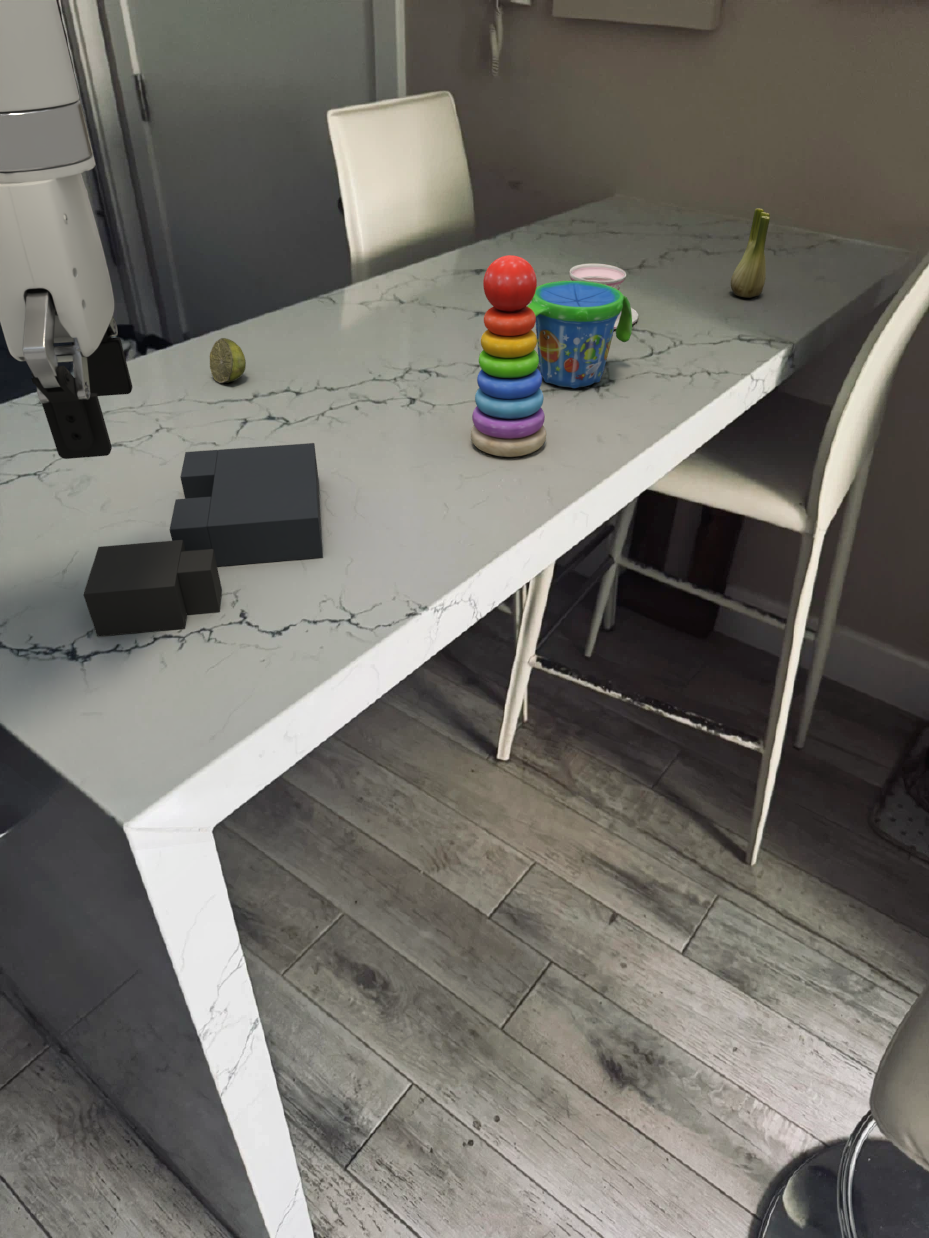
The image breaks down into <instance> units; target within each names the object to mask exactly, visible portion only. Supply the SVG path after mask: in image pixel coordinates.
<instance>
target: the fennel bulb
mask: <svg viewBox="0 0 929 1238" xmlns="http://www.w3.org/2000/svg"><path fill="white" fill-rule="evenodd" d="M770 220H771V214H770V213H768V212H765V210H764V209H763V208H760V207H759V208H755V209H754V213H753V216H752V221H751V227H750V232H749V238H748V241H747V243H746V244H747V245H746V248H745V251H744V253H743V254H742V257H741V259H740V261H739V263H738V264H737V266H736V267H735V269H734V271H733V273H732V276H731V278H730V289H731V291H732V293H733V294H734V295H735V296H737V297H740V298H754V297H758V296H760V295H761V294H762V293H763V290H764V287H765V283H766V279H767V278H766V277H767V276H766V275H767V274H766V272H767V270H766V269H767V267H766V256H765V254H766V253H765V247H766V241H767V234H768V230H769V225H770Z"/></svg>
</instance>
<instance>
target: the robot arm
mask: <svg viewBox="0 0 929 1238" xmlns="http://www.w3.org/2000/svg"><path fill="white" fill-rule="evenodd" d="M66 39H67V38H66V36H65V31H64V27H63V22H62V19H61V14H60V10H59V6H58V2H57V0H0V326H1V329H2V333H3V336H4V340H5V343H6V346H7V349H8V352H9V354H10V355H11V356H12V357H13V358H14V360H17V361H18V362H26V364H27V365H28V367H29V369H30V371H31V374H30V375H31V382H32V384H33V385H35V387H36V393H37V397H38V401H39V402H40V403H41V406H42V408H43V411H44V414H45V418H46V421H47V424H48V427H49V430H50V433H51V436H52V440H53V442H54V445H55V449H56V451H57V454H58V457H60V458H62V459H64V460H68V459H82V458H83V459H84V458H95V457H107V456H109V455H110V454H111V452H112V449H113V447H112V442H111V439H110V436H109V432H108V429H107V425H106V421H105V418H104V414H103V410H102V407H101V403H100V399H99V397H108V396H109V397H110V396H120V395H121V396H122V395H130V394H131V393H132V391H133V383H132V378H131V374H130V370H129V367H128V363H127V359H126V355H125V351H124V347H123V343H122V339H121V336H118V334H119V333H118V332H119V331H118V325H117V321H116V319H115V317H114V313H115V297H114V292H113V286H112V281H111V276H110V271H109V268H108V264H107V259H106V255H105V252H104V248H103V244H102V240H101V236H100V233H99V229H98V226H97V222H96V218H95V215H94V212H93V208H92V204H91V201H90V197H89V192H88V189H87V187H86V184H85V182H84V178H83V175H82V174H83V173H85V172H89V171H91V170H93V169H94V168H95V166H96V160H95V157H94V156H95V155H94V151H93V148H92V143H91V139H90V135H89V130H88V127H87V122H86V117H85V113H84V109H83V105H82V101H81V100H80V93H79V90H78V84H77V81H76V77H75V73H74V68H73V64H72V61H71V56H70V52H69V48H68V43H67V40H66ZM117 336H118V337H117ZM59 343H60V344H61V343H71V344H70V345H55V344H59ZM69 362H72V367H73V374H72V373H71V371H70V370H68V368H67V367H66V366H65V365H59V363H69Z"/></svg>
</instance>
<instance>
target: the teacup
mask: <svg viewBox="0 0 929 1238" xmlns="http://www.w3.org/2000/svg"><path fill="white" fill-rule="evenodd" d="M568 276H569V278H570V281H586V282H595V283H599V284H604V285H608V286H611V287H613V288H615V289H617V290H619V291H620V289H621V287H620V285H622V284H623V283H624V281H625V280H626V278H627V272H626V271H625V270H624V269H622V268H620V267H618V266H614V265H612V264H611V265H610V264H604V263H582V264H576V265H574V266H572V267H571V268H570V269H569V275H568ZM631 312H632V325H634V324H635V323H636V322H638V320H639V313H638V311H637V310H636V309H634V308H633V307H631ZM620 316H621V312H620V314H619V315H618V317H617V319H616V322H615V325H614V330H616V329H617V326H618V323H619V319H620Z"/></svg>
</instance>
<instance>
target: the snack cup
mask: <svg viewBox="0 0 929 1238" xmlns="http://www.w3.org/2000/svg"><path fill="white" fill-rule="evenodd" d="M527 307H529V308H530V309H532V310H533V312H534V313H535V316H536V322H535V334H536V337H537V345H536V346H537V354H538V357H539V364H538V366H539V371H540V373H541V376H542V379H543V381H544V382H545V383H548V384H552V385H555V386H556V387H557V386H558V387H563V388H572V389H578V388H583V387H584V388H585V387H587V386H591V385H593V384H595V383H596V384H597V383H600V382H601V379H602V377H603V374H604V372H605V368H606V364H607V363H606V362H607V361H608V356H609V353H610V349H611V345H612V340H613V336H614V330H615V337H616V339H618V340H619V341H620V342H622V343H627V342H629V341H630V339H631V336H632V333H633V324H632V312H631V308H632V307H631V303H630V301H629V299H628V297H627V296H625V295H624V294H623V293H622V292H621V291H620V289H619V290H617V289H615V288H613V287H611V286H608V285H604V284H599V283H595V282H586V281H572V280H559V281H558V280H557V281H551V282H546V283H544V284H541V285H537V287H536V292H535V295H534V297H533V299H532V300H531V302H530V303H529V304H528V305H527ZM620 312H621V316H620V319H619V323H618V326H617V329H614V325H615V322H616V319H617V317H618V315H619V314H620Z"/></svg>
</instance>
